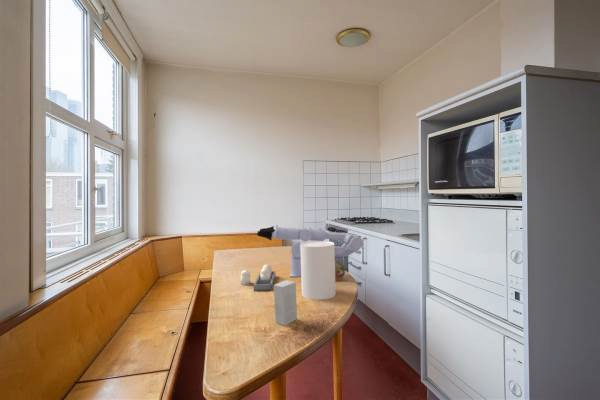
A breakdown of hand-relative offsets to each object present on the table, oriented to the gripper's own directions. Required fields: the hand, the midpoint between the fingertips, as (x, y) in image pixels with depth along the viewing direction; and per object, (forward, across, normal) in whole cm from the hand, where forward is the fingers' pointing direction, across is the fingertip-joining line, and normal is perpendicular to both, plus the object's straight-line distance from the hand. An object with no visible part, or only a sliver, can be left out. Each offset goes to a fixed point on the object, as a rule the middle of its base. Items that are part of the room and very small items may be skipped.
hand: (258, 232), depth 142 cm
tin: (-35, +10, +19) cm, 41 cm away
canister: (-29, +28, +20) cm, 45 cm away
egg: (+3, +12, +22) cm, 25 cm away
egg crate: (-6, +12, +21) cm, 25 cm away
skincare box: (-17, +52, +20) cm, 58 cm away
